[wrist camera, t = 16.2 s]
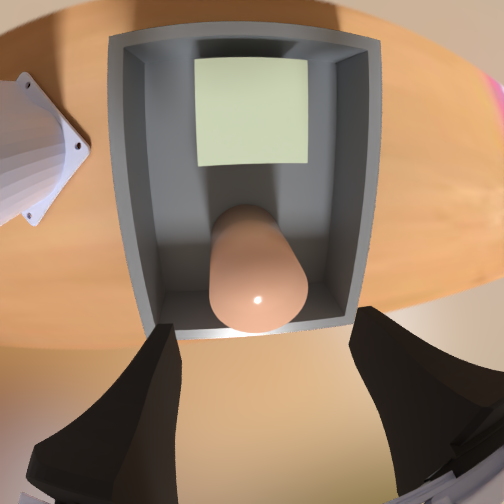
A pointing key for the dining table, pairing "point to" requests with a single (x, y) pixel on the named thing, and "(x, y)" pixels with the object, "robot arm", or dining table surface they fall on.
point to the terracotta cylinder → (253, 272)
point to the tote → (242, 169)
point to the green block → (251, 110)
